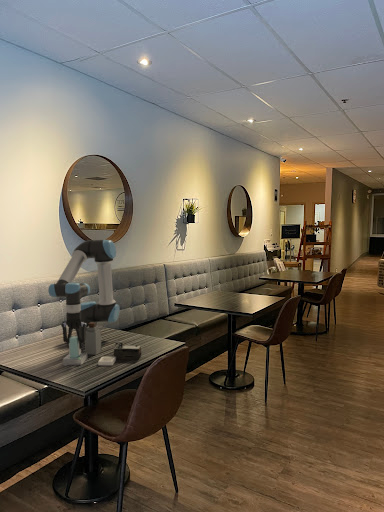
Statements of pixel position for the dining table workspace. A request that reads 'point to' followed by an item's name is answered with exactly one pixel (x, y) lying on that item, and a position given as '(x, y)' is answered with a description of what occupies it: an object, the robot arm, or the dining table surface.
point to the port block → (74, 360)
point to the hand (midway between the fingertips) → (75, 354)
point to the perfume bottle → (93, 339)
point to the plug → (74, 347)
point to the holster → (107, 361)
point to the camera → (127, 352)
